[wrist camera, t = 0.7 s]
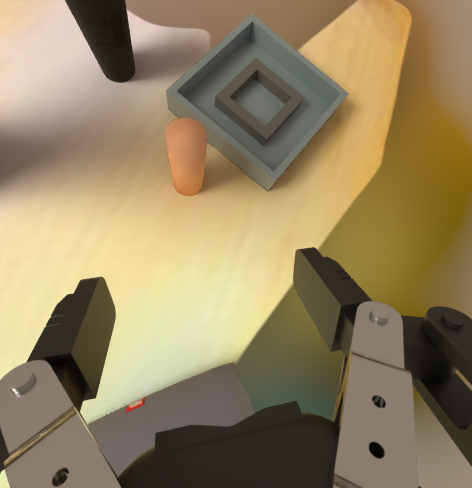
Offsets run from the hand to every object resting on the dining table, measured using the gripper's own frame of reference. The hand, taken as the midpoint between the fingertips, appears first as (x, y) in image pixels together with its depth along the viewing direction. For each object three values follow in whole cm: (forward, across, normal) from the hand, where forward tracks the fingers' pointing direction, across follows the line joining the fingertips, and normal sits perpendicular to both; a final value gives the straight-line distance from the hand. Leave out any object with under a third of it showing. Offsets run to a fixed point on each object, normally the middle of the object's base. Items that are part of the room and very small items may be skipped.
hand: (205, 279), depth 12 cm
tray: (+39, -12, -3) cm, 41 cm away
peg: (+31, 0, +6) cm, 31 cm away
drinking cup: (+44, +8, -9) cm, 45 cm away
